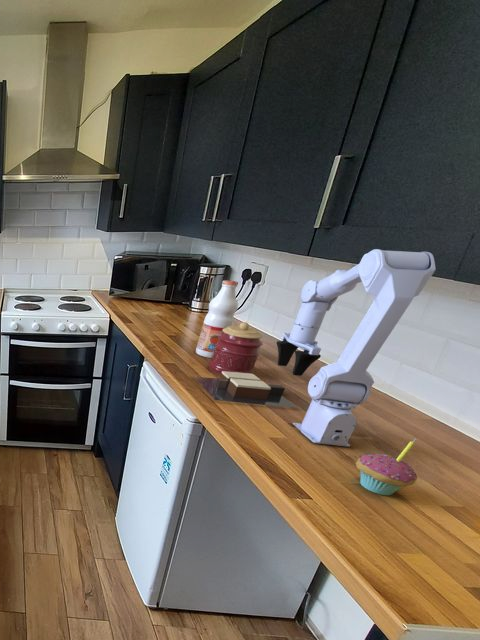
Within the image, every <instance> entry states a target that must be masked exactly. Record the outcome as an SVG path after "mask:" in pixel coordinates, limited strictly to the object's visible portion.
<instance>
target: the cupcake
mask: <svg viewBox="0 0 480 640" xmlns="http://www.w3.org/2000/svg"><path fill="white" fill-rule="evenodd" d="M417 440H418V439H417V438H415V439H413V441H409V442H408V444H407V445H406V446H405V447H404V449H403V450H402V452H400V453H399V455H398V456H397V458H396V457H393V456H392V455H389V454H385V453H383V454H381V453H370V454H368V453H367V454H365V455H361V456H359V458H358V460H357V461H356V462H355V467H356V469H357V470H358V471H359V472H360V480H359V483H360V485H361V486H362V487H363V488H364V489H365V490H368V491H370V492H372V493H375V494H376V495H381V496H391V495H392V494H394V493H395V492H396V491H399V490H400V489H402V488H406V487H409V486H412V485H414V484H415V483H416V481H417V479H418V476H417V472H416V471H415V470H414V468H412V467H413V466H410V465H409V464H408V463H407V462H405V461H404V460H403V459H404V458H405V457H406V455H408V453H409V452H410V450H411V449H412V448H413V447H414V445H415V444H416V441H417Z"/></svg>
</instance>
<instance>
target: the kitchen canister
mask: <svg viewBox="0 0 480 640" xmlns="http://www.w3.org/2000/svg"><path fill="white" fill-rule="evenodd" d="M222 331H223V333H222V334H219V335H218V339H219V340H218V342H217V343H216V344H215V348H214V352H213V355H212V358H210V361H209V363H208V368H209V369H210V370H211V371H212V372H214V373H216V374H219V375H221V374H222V371H227V372H238V373H250V374H254V368H255V366H256V362H257V360H258V357H259V355H260V347H261V346H263V345H264V342H263V341H262V339H261V338H263V334H262V333H260V332H259V331H258V330H257V329H255V328H252V327H250V324H249V323H248V322H245V321H243V322H240V323H239V325H233V326H229V327H227V328H224V329H223V330H222Z"/></svg>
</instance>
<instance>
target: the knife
mask: <svg viewBox="0 0 480 640" xmlns="http://www.w3.org/2000/svg"><path fill="white" fill-rule="evenodd" d="M229 382H230V380H219V383H218V386H217V389H225V390H227V388H228V385H229ZM266 384H267V383H266ZM267 385H268V386H269V387H271V389H270V392H269V395H279V396H283V394H284V391H285V387H283V386H282V385H277V384H269V383H268V384H267Z"/></svg>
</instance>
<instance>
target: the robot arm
mask: <svg viewBox="0 0 480 640" xmlns="http://www.w3.org/2000/svg"><path fill="white" fill-rule="evenodd" d="M436 270H437V269H436V262H435V257H434V255H433V253H432V252H430V251H429V252H428V251H420V252H419V251H418V252H417V251H401V250H382V249H378V248H375V249H372V250H370V251H368V253H367V252H366V253H365V254H364V255H363V256H362V258H361V259H360V262H359V263H358V264H356V265H355V266H353V267H351V268H350V269H348V270H347V269H337V270H335V272H333V273H332V274H330V275H328V276H325V277H323V278H322V279H320V280H314V279H310V280H308V281H307V282H306V283H305V284H304V285H303V287H302V288H301V292H300V300H301V305H300V307H299V310H298V313H297V316H296V318H295V321H294V323H293V326H292V328H291V331H290V333H289V332H282V334H281V337H280V339H281V340H277V341H276V347H277V354H278V355H277V366H280V367H287V366H288V364H290V361H291V359H292V357H293V355H294V354H295V355H294V356H295V361H294V366H293V369H292V375H293V376H298V377H299V376H300V377H302V376H303V375H304V373H305V372H306V371H307V370H308V369H309V368H310V366H311V365H313V364H314V363H315V362H316V361H318V360H319V359H320V358H321V356H322V355H321V354H320V353H321V350H322V347H319V346H318V341H317V340H316V338H317V336H318V333H319V331H320V329H321V326H322V323H323V321H324V319H325V316H326V314H327V312H329V311H330V310H331V309H332V306H333V305H334V303H335V302H336V301H337V300H338V298H339V297H340V296H342V295H344V294H347V293H349V292H351V291H354V289H355V288H356V287H357V285H358V284H359V283H362V285H363V287H364V290H365V292H366V293H368V294H369V295H371V296H373V302H372V303H371V305H370V307H369V308H368V310H367V312H366V313H365V315H364V316H363V318H362V320H361V321H360V323H359V325H358V326H357V328H356V329H355V331H354V333H353V335H352V336H351V338H350V339H349V341H348V343H347V345H346V346H345V347H344V349H343V351H342V353H341V355H340V356H339V358H338V359H337V361H335V362H333V363H330V364H329V363H328V364H326V365H324V366H322V367H321V366H320V369H319V370H318V372H317V373H316V374H314V376H312V377H311V378H310V380H309V382H308V385H307V392H308V393H307V394H308V395H309V397H310V398H311V401H310V404H309V405H308V408H307V411H306V413H305V415H304V417H303V420H302V422H301V423H300V422H292V425H294V426H295V427H296V428H297V429H298V431H299V432H300V433H302V435H304V436H305V437H306V438H307V439H309V440H310V441H311V442H312V443H314V444H317V445H318V444H320V445H329V446H330V445H331V446H339V447H349V448H350V447H351V444H350V443H349V441H350V438H351V436H353V435H352V434H353V432H354V431H355V429H356V427H357V424H358V422H357V421H358V420H357V418H356V416H355V415H354V414H353V413H352V409H356V407H357V406H359V405H362V404H364V403H365V402H366V401H367V400H368V399H369V396H370V394H371V389H372V387H373V385H374V383H375V381H374V377H373V376H372V375H371V374H370V372H368V368H369V366H370V365H371V364H372V362H373V361H374V359H375V358H376V356H377V354H378V353H379V351H380V350H381V348H382V347H383V345H384V344H385V342H386V341H387V339H388V338H389V336H390V335H391V333H392V332H393V330H394V329H395V327H396V326H397V324H398V323H399V321H400V319H401V318H402V317H403V315H404V313H405V312H406V311H407V309H408V308H409V306H410V304H411V303H412V301H413V300H414V298H415V297H418V296H419V295H420V294H421V293H422V291H423V290H424V288H425V286H426V285H427V284H428V282H429V280H430V279H431V277H432V276H433V275H434V274H435V271H436ZM298 349H301V350H298Z"/></svg>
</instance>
